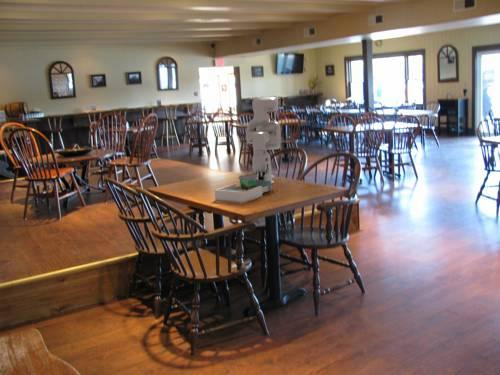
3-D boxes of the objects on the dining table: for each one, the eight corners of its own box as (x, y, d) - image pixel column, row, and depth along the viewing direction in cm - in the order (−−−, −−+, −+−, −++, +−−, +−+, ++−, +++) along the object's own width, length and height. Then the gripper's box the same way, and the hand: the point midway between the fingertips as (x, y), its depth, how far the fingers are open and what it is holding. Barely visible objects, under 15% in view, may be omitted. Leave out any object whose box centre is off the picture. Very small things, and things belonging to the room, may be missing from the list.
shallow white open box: (234, 193, 309) (234, 183, 308) (262, 196, 298) (261, 186, 297) (215, 200, 294) (214, 190, 293) (243, 203, 283) (243, 192, 282)
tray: (244, 188, 317) (243, 178, 316) (271, 190, 305) (271, 180, 304) (226, 194, 303) (225, 184, 301) (254, 196, 291) (253, 186, 290)
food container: (246, 193, 297) (245, 176, 295) (239, 192, 301) (238, 175, 299) (261, 189, 305) (261, 173, 303) (254, 188, 309) (253, 172, 307)
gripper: (273, 152, 309) (274, 182, 313) (253, 151, 318) (254, 180, 321) (266, 154, 303) (268, 184, 307) (246, 153, 312) (247, 183, 315)
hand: (261, 182), depth 314 cm, fingers closed
